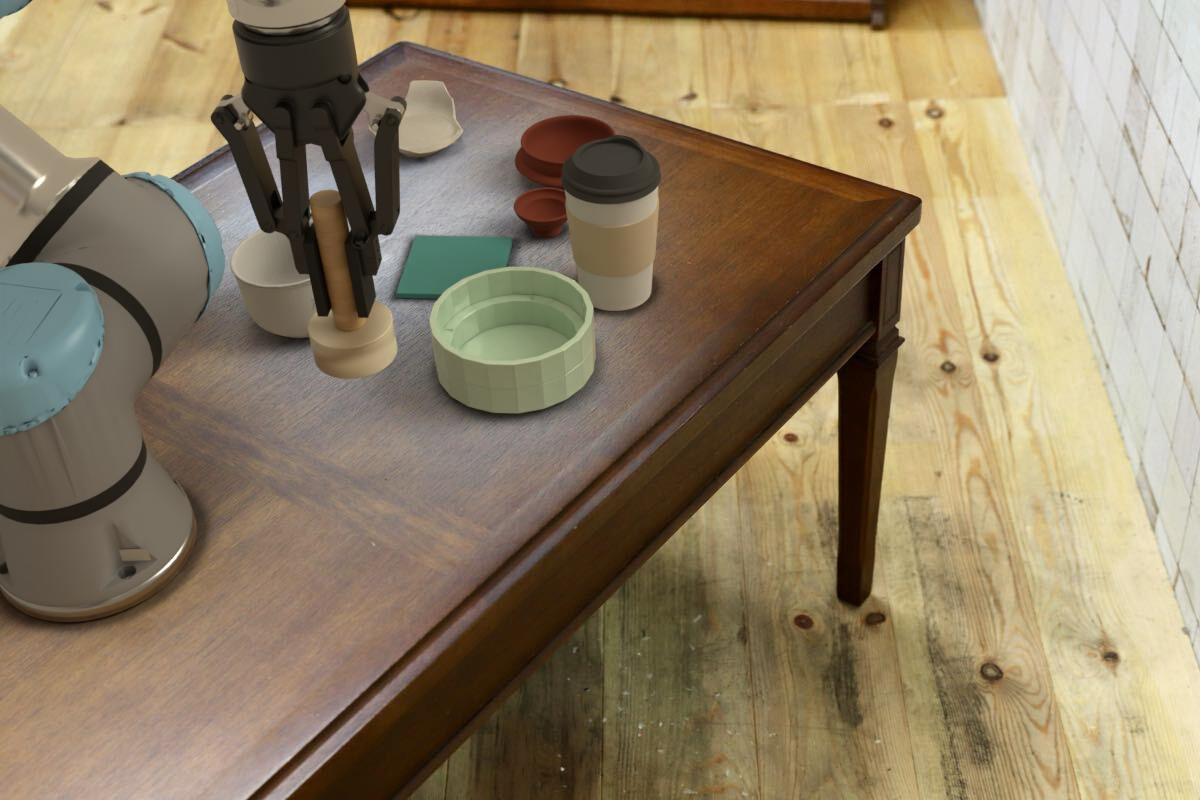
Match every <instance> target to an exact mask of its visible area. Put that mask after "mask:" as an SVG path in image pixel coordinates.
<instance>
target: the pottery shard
mask: <svg viewBox="0 0 1200 800" xmlns="http://www.w3.org/2000/svg"><path fill="white" fill-rule="evenodd" d="M404 99H405V101H406V103H407V108H406V111H405V113H404V115H403V118H402V120H401V123H400V125H399V153H400V154H402V155H404V156H405V157H409V158H425V157H428V156H431V155H433V154H436V153H438V152H439V151H441V150H442V149H445V148H447V147H449V146H451V145H455V143H456V142H457V140H458V139H459V138H460V136H461V135H462V134H463V133H464V128H462V127H461V125H460V123H459V121H458V120H457V117H456V115H457V114H456V107H455V102H454V98H453V97H452V96H451V95H450V93H449V91H448V89H447V87H446V84H445V83H444V81H440V80H431V79H429V80H428V79H427V80H425V79H421V80H420V79H419V80H417V79H416V80H411V81H410V82H409V87H408V89H407V93H406V95H405V97H404ZM367 126H368V129H367V131H368V132H369V133H370V134H371V136H372V137H373V138H374V139H375V136H376V133H377V132H374V131H372V130H371V127H370V125H369V121H368V122H367Z"/></svg>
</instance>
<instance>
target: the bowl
mask: <svg viewBox="0 0 1200 800" xmlns="http://www.w3.org/2000/svg"><path fill="white" fill-rule="evenodd" d="M594 308H595V307H593V305H592V303H591V300H590V297H589V295H588V293H587V292H586V291H585V290H584V289H583V288H582V287H581V286H580V285H579V282H578V281H576V280H574V279H572V278H571V277H569V276H566V275H565V274H562V273H560V272H558V271H555V270H551V269H546V268H540V267H536V266H507V267H504V268H498V269H492V270H486V271H483V272H480V273H477V274H475V275H472V276H469V277H466V278H464V279H462V280H460V281H459V282H457V283H456V284H454V285H453V286H451V287H450V288H448V289H446V290H445V291H444V293H443V294H442V295H441V296H440V297H439V298H438V299H436V301H435V302H434V303H433V305H432V308H431V312H430V315H429V319H428V323H429V330H430V331H429V332H430V336H431V344H432V349H433V357H434V365H435V370H436V374H437V379H438V382H439V384H440V385H441V387H442V388H443V389H444V390H445V391H446V393H448V395H449V396H450V397H451V398H452V399H455V400H456V401H457V402H459V403H461V404H463V405H465V406H466V407H469V408H473V409H476V410H480V411H484V412H489V413H492V414H522V413H524V414H525V413H528V412H533V411H539V410H544V409H547V408H549V407H552V406H554V405H556V404H559V403H561V402H564V401H567V400H568V399H569V398H571V397H572V396H573V395H575V394H576V393H578V391H580V390H581V389H582V388H584V387H585V385H586V383H587V382H588V380H589V379H590V378H591V376H592V375H593V373H594V371H595V365H596V358H597V351H596V333H595V332H596V330H595V329H596V328H595V309H594Z"/></svg>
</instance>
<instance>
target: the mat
mask: <svg viewBox="0 0 1200 800" xmlns="http://www.w3.org/2000/svg"><path fill="white" fill-rule="evenodd" d="M513 243H514V238H513V236H475V235H474V236H473V235H471V236H470V235H418V234H417V235H414V238H413V241H412V244H411V247H410V250H409V253H408V256H407V259H406V261H405V265H404V268H403V271H402V274H401V276H400V280H399V283H398V286H397V289H396V292H395V296H396V298H397V299H430V300H431V299H433V300H438V298H439V297H440V296H441V295H442V294H443V293H444V291H445V290H446V289H448V288H450V287H451V286H453V285H454V284H456V283H457V282H459V281H460V280H462V279H464V278H466V277H469V276H472V275H475V274H477V273H480V272H483V271H486V270H492V269H498V268H504V267H508V264H509V260H510V256H511V252H512V247H513Z"/></svg>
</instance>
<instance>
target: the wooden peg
mask: <svg viewBox="0 0 1200 800" xmlns="http://www.w3.org/2000/svg"><path fill="white" fill-rule="evenodd" d="M309 203H310V208H311V213H312V218H313V223H314V228H315V233H316V238H317V243H318V248H319V252H320V257H321V262H322V267H323V272H324V277H325V282H326V287H327V292H328V296H329V301H330V306H331V310H330V312H329V315H328V317H321V316H318V315H317V312H316V313H315V314H314V315H313V316H312V318H311V319H310V321H309V324H308V333H309V337H308V338H309V342H310V347H311V350H312V355H313V359H314V363H315V365H316V367H317V368H318V370H319V371H321V372H322V373H323V374H325V375H327V376H330V377H332V378H335V379H342V380H354V379H355V380H356V379H363V378H367V377H369V376H372V375H376V374H377V373H380V372H381V371H383V370H384V369H386V368H387V367H388V366H390V365H391V364H392V362H393V361H394V359H395V358H396V356H397V353H398V343H397V336H396V331H395V325H394V319H393V314H392V311H391V310H390V308H389V307H387V305H385V304H384V303H382V302H380V301H378V300H376V299H375V301H374V303H373V306H372V309H371V312H370V314H369V317H368V318H358V313H357V308H356V303H355V298H354V292H353V287H352V282H351V277H350V271H349V266H348V261H347V256H346V250H345V245H344V244H345V242H346V240H347V237H348V235H349V233H350V225H349V222H348V219H347V216H346V213H345V210H344V207H343V203H342V200H341V197H340V194H339V191H338V190H336V189H322V190H319V191H317V192H314V193H312V195H311V196H309Z"/></svg>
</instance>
